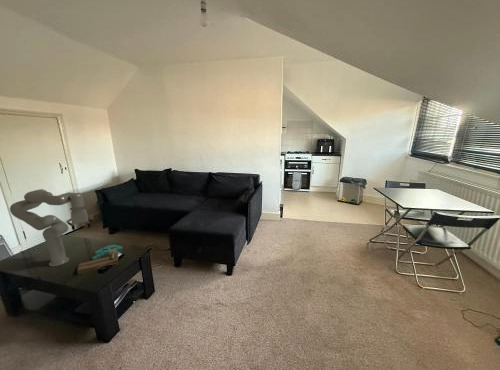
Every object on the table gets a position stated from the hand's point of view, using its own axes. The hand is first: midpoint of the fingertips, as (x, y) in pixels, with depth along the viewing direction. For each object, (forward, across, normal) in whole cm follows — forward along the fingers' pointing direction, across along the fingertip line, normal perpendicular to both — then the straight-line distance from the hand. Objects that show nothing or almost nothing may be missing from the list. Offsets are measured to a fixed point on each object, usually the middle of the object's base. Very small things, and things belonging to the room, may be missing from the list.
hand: (81, 228), depth 170 cm
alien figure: (+30, +15, +9) cm, 35 cm away
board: (+29, +9, -13) cm, 33 cm away
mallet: (+29, +19, -9) cm, 36 cm away
